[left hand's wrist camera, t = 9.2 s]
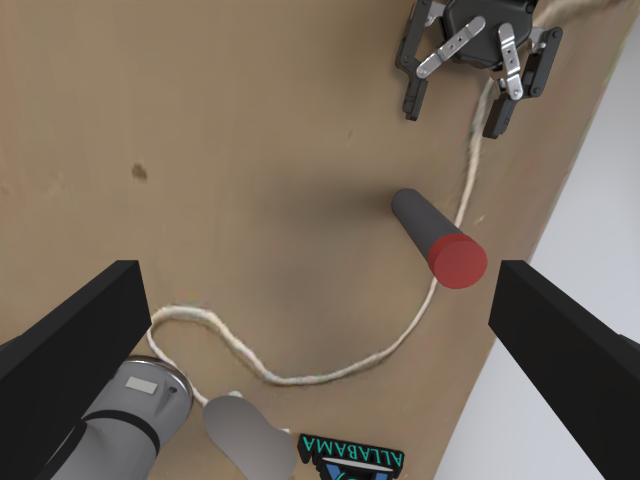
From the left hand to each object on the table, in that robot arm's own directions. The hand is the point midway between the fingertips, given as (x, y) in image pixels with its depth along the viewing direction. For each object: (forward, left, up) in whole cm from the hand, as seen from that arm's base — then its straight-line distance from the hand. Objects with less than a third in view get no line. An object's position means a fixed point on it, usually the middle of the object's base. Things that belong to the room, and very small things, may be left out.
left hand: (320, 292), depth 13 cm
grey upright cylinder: (-2, -13, -33) cm, 35 cm away
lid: (-2, -13, -15) cm, 19 cm away
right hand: (+8, -12, -26) cm, 30 cm away
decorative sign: (-47, -19, -33) cm, 60 cm away
